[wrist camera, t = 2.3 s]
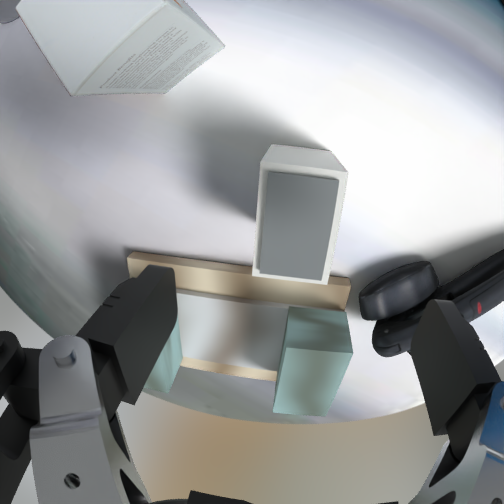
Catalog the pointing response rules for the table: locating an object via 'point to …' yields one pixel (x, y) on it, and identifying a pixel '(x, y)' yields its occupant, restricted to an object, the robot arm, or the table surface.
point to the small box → (119, 43)
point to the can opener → (426, 299)
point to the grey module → (298, 213)
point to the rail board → (256, 330)
